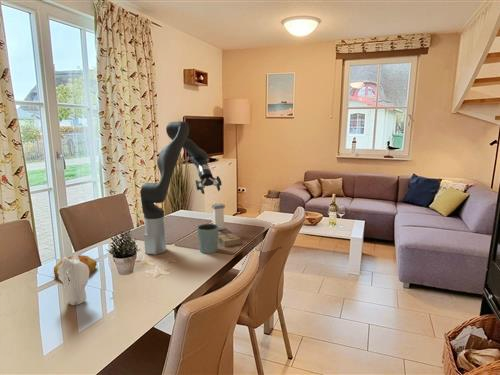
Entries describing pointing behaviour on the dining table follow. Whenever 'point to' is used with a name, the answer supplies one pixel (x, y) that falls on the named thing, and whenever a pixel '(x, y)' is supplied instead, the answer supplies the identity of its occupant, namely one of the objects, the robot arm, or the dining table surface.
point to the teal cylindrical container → (208, 238)
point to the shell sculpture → (74, 279)
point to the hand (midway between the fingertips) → (211, 191)
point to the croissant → (84, 259)
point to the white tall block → (218, 215)
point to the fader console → (228, 238)
